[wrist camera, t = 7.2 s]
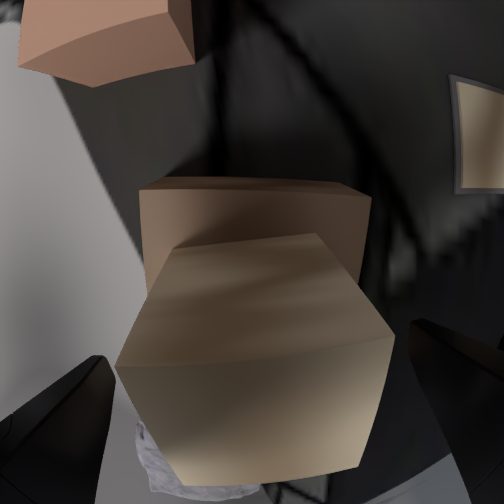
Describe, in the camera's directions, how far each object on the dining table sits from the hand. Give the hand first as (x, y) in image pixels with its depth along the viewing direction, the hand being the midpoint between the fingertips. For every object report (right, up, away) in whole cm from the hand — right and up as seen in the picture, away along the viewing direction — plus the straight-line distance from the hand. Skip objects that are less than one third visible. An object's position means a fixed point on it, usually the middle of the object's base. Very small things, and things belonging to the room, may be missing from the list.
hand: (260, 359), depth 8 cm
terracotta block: (-5, +13, +3) cm, 14 cm away
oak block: (0, +1, +3) cm, 4 cm away
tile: (+14, +10, +5) cm, 18 cm away
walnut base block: (0, +3, +7) cm, 8 cm away
